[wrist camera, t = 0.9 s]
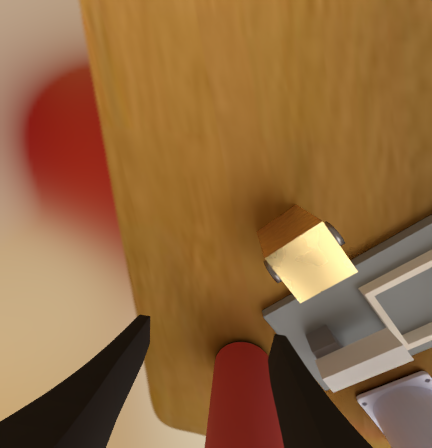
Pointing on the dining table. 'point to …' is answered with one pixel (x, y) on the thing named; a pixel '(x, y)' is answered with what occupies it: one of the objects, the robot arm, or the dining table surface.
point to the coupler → (304, 253)
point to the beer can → (242, 400)
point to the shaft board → (365, 313)
